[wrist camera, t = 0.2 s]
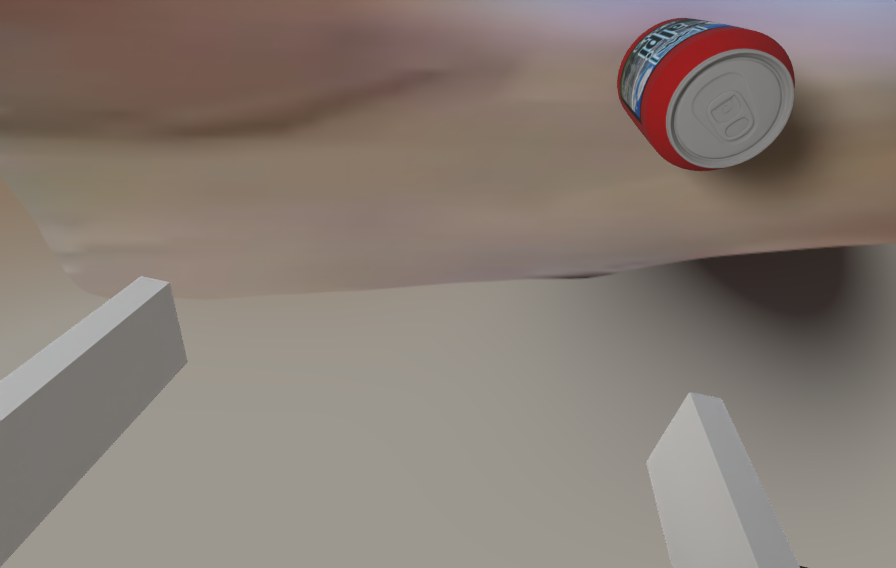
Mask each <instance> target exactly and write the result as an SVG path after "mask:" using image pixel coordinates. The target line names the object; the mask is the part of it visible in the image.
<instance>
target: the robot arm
mask: <svg viewBox="0 0 896 568" xmlns="http://www.w3.org/2000/svg"><path fill="white" fill-rule="evenodd" d="M186 363H187V358H186V354H185V349H184V344H183V340H182V336H181V331H180V326H179V322H178V318H177V313H176V308H175V304H174V299H173V295H172V290H171V286H170V282H166V281H161V280H156V279H152V278H147V277H142V276H141V277H139V278H138V279H137V280H135V281H134V282H133V283H131V284H130V285H129V286H127V287H126V288H125V289H123V290H122V291H120V292H119V293H118V294H116V295H115V296H114V297H112V298H111V299H110V300H108V301H107V302H106V303H104V304H103V305H102V306H100V307H99V308H98V309H96V310H95V311H94V312H92V313H91V314H90V315H88V316H87V317H86V318H84V319H83V320H82V321H80V322H79V323H77V324H76V325H75V326H74V327H72V328H71V329H70V330H68V331H67V332H65V333H64V334H63V335H61V336H60V337H59V338H57V339H56V340H55V341H53V342H52V343H51V344H49V345H48V346H47V347H45V348H44V349H43V350H41V351H40V352H38V353H37V354H36V355H34V356H33V357H32V358H31V359H29V360H28V361H26V362H25V363H24V364H22V365H21V366H20V367H18V368H17V369H16V370H14V371H13V372H12V373H10V374H9V375H8V376H6V377H5V378H4V379H2V380H1V381H0V567H1V566H2V565H3V563H4V562H5V561H6V560H7V559H8V558H9V557H10V556H11V555H12V554H13V553H14V551H15V550H16V549H17V548H18V547H19V546H20V545H21V544H22V543H23V542H24V540H25V539H26V538H27V537H28V536H29V535H30V534H31V533H32V532H33V531H34V530H35V528H36V527H37V526H38V525H39V524H40V523H41V522H42V521H43V520H44V519H45V517H46V516H47V515H48V514H49V513H50V512H51V511H52V510H53V509H54V508H55V507H56V505H57V504H58V503H59V502H60V501H61V500H62V499H63V498H64V496H66V494H67V493H68V492H69V491H70V490H71V489H72V488H73V487H74V486H75V484H76V483H77V482H78V481H79V480H80V479H81V478H82V477H83V476H84V475H85V474H86V473H87V471H88V470H89V469H90V468H91V467H92V466H93V465H94V464H95V463H96V462H97V460H98V459H99V458H100V457H101V456H102V455H103V454H104V453H105V452H106V451H107V450H108V448H109V447H110V446H111V445H112V444H113V443H114V442H115V441H116V440H117V438H119V436H120V435H121V434H122V433H123V432H124V431H125V430H126V429H127V428H128V427H129V425H130V424H131V423H132V422H133V421H134V420H135V419H136V418H137V417H138V415H140V413H141V412H142V411H143V410H144V409H145V408H146V407H147V406H148V405H149V404H150V402H151V401H152V400H153V399H154V398H155V397H156V396H157V395H158V394H159V393H160V391H161V390H162V389H163V388H164V387H165V386H166V385H167V384H168V383H169V382H170V381H171V380H172V378H173V377H174V376H175V375H176V374H177V373H178V372H179V371H180V370H181V368H182V367H183V366H184V365H185V364H186ZM646 463H647V467H648V471H649V475H650V479H651V484H652V488H653V492H654V496H655V500H656V504H657V508H658V512H659V516H660V520H661V525H662V529H663V533H664V537H665V541H666V545H667V549H668V553H669V557H670V562H671V565H672V568H807V567H802V566H799V564H798V562H797V560H796V558H795V556H794V554H793V551H792V550H791V547H790V545H789V543H788V541H787V539H786V536H785V534H784V532H783V530H782V528H781V526H780V523H779V521H778V519H777V517H776V515H775V513H774V510H773V508H772V506H771V504H770V502H769V500H768V498H767V495H766V493H765V491H764V489H763V487H762V485H761V483H760V480H759V478H758V476H757V474H756V472H755V470H754V467H753V465H752V463H751V461H750V459H749V457H748V455H747V452H746V450H745V448H744V446H743V444H742V442H741V440H740V437H739V435H738V433H737V431H736V429H735V427H734V425H733V422H732V420H731V419H730V416H729V414H728V412H727V409H726V407H725V405H724V403H723V401H722V399H721V398H716V397H712V396H707V395H702V394H697V393H692V392H689V393H688V395H687V397H686V398H685V400H684V402H683V403H682V405H681V407H680V408H679V410H678V411H677V413H676V415H675V416H674V418H673V420H672V421H671V423H670V424H669V426H668V428H667V429H666V431H665V432H664V434H663V436H662V438H661V439H660V441H659V442H658V444H657V445H656V447H655V449H654V450H653V452H652V454H651V455H650V457H649V459H648V460H647V462H646Z"/></svg>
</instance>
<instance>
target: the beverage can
mask: <svg viewBox="0 0 896 568" xmlns="http://www.w3.org/2000/svg"><path fill="white" fill-rule="evenodd" d="M794 87H795V79H794V71H793V67H792V64H791V61H790V59H789V57H788V55H787V53H786V52H785V50H784V49H783V48H782V46H780V45H779V44H778V43H777V42H776V41H775V40H774V39H772V38H770V37H769V36H767V35H765V34H763V33H760V32H757V31H753V30H748V29H744V28H739V27H735V26H730V25H725V24H720V23H715V22H709V21H703V20H696V19H689V18H677V19H671V20H667V21H664V22H661V23H659V24H657V25H655V26H653V27H651V28H650V29H648V30H647V31H646V32H644V33H643V34H642V35H641V36H640V37H638V39H637V40H636V41H635V42H634V43H633V44H632V45H631V47H630V48H629V49H628V51H627V53H626V54H625V56H624V58H623V60H622V63H621V66H620V69H619V73H618V80H617V88H618V95H619V99H620V101H621V104H622V106H623V107H624V109H625V111H626V112H627V113H628V115H629V116H630V118H631V119H632V120H633V122H634V123H635V125H636V126H637V127H638V129H639V130H640V131H641V132H642V134H643V135H644V136H645V138H646V139H647V140H648V141H649V143H650V144H651V145H652V146H653V147H654V149H655V150H656V151H657V152H658V153H659V154H660V155H661V156H662V157H663V158H664V159H665V160H667V161H668V162H670V163H671V164H673V165H675V166H678V167H680V168H683V169H688V170H694V171H709V170H716V169H721V168H725V167H730V166H734V165H737V164H740V163H742V162H745V161H747V160H749V159H751V158H753V157H755V156H756V155H758V154H759V153H760V152H762V151H763V150H765V149H766V148H767V147H768V146H769V145H770V144H771V143H772V142H773V141H774V140H775V139H776V138H777V137H778V135H779V134H780V133H781V131H782V130H783V128H784V127H785V125H786V123H787V121H788V119H789V117H790V114H791V111H792V107H793V103H794Z"/></svg>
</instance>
